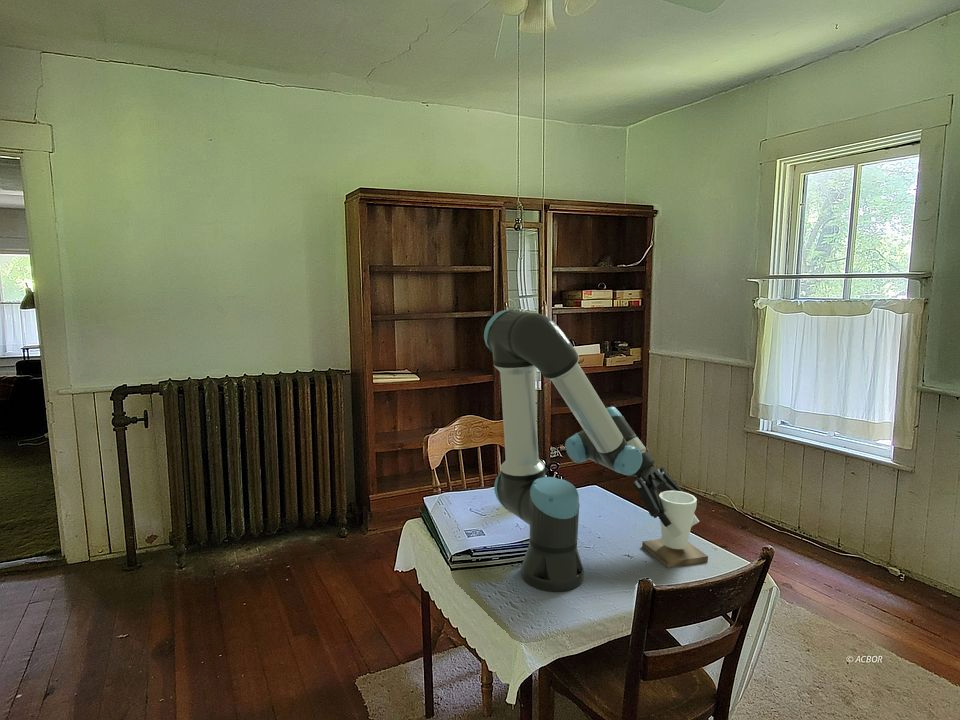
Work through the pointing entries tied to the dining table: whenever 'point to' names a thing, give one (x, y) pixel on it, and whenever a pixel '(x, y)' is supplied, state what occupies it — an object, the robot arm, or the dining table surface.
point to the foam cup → (678, 516)
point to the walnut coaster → (674, 553)
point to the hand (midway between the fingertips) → (687, 529)
